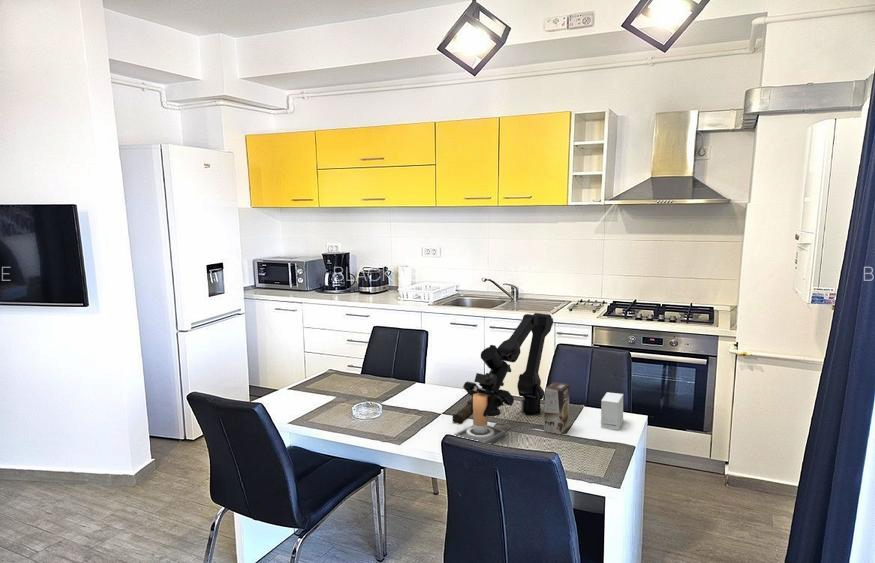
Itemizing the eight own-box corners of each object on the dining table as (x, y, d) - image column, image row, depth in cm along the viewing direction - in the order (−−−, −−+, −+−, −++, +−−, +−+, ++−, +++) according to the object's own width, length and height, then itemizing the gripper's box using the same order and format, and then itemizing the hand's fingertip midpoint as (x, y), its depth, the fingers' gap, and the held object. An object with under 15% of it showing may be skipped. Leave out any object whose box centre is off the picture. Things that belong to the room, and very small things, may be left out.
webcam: (497, 408, 225) (497, 384, 224) (503, 415, 218) (503, 390, 217) (478, 410, 224) (478, 385, 223) (483, 416, 217) (483, 391, 215)
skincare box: (605, 418, 214) (606, 391, 213) (623, 421, 211) (624, 393, 210) (599, 427, 205) (600, 399, 203) (618, 430, 202) (619, 402, 201)
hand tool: (461, 425, 209) (461, 413, 208) (452, 423, 211) (452, 411, 210) (481, 409, 226) (481, 398, 225) (472, 408, 227) (472, 396, 227)
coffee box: (560, 435, 198) (561, 390, 196) (543, 431, 202) (544, 387, 200) (569, 426, 206) (570, 383, 204) (552, 423, 209) (553, 381, 207)
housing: (478, 427, 205) (478, 421, 205) (505, 436, 198) (505, 429, 197) (454, 439, 195) (453, 432, 195) (481, 449, 187) (481, 441, 187)
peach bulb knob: (488, 429, 198) (488, 393, 196) (486, 434, 193) (486, 398, 191) (474, 428, 199) (474, 392, 197) (471, 433, 194) (471, 397, 193)
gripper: (465, 359, 202) (446, 397, 195) (509, 368, 190) (490, 409, 183) (479, 375, 209) (460, 412, 202) (522, 385, 197) (503, 425, 190)
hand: (477, 414), depth 194 cm, fingers closed on peach bulb knob, 5 cm apart
